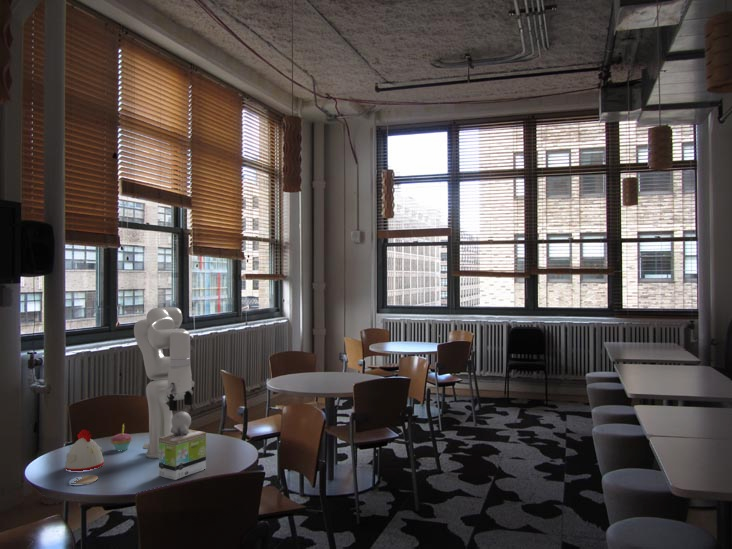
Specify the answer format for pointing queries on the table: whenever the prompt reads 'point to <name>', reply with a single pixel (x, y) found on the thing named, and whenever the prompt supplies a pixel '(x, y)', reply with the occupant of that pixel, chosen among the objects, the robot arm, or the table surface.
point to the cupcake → (121, 440)
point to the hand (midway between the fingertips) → (181, 407)
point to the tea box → (182, 454)
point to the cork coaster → (86, 479)
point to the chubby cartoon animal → (180, 423)
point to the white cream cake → (84, 454)
